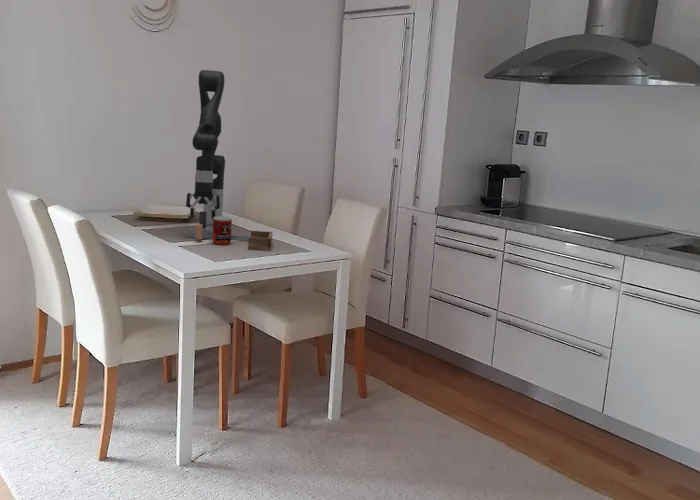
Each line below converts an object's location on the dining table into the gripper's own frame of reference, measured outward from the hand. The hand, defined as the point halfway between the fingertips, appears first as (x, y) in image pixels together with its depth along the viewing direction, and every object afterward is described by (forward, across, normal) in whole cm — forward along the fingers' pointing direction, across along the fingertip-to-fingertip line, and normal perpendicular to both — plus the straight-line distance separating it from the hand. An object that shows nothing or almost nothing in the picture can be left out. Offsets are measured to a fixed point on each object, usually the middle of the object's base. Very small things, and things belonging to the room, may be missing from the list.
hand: (202, 217), depth 290 cm
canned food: (+9, -10, +9) cm, 16 cm away
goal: (+9, -26, +10) cm, 29 cm away
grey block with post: (+9, 0, +4) cm, 9 cm away
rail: (+9, -8, 0) cm, 12 cm away
